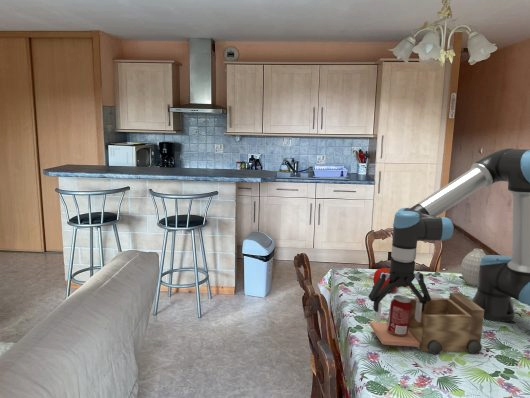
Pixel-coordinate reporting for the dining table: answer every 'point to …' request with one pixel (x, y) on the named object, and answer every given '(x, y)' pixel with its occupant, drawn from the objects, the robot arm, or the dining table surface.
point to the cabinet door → (393, 336)
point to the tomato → (377, 274)
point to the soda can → (399, 315)
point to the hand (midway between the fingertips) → (397, 320)
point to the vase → (472, 266)
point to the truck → (448, 325)
